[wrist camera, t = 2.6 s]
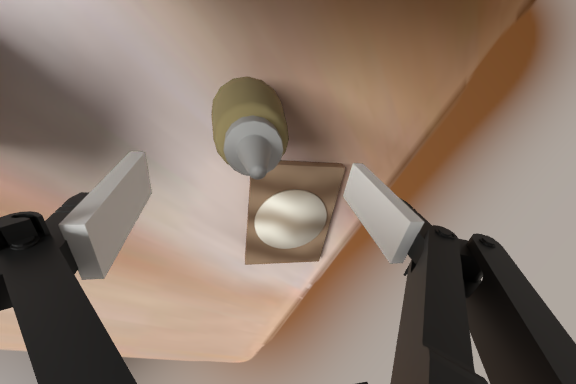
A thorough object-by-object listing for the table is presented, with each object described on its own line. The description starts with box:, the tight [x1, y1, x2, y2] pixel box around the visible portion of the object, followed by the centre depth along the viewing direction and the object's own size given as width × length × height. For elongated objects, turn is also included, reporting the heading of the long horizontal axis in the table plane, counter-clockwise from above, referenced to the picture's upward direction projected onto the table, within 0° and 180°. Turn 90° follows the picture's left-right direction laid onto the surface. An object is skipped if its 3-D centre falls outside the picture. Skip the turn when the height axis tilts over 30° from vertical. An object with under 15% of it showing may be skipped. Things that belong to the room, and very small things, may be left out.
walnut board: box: [245, 160, 345, 265], centre depth 40 cm, size 20×14×2 cm
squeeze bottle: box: [212, 77, 289, 180], centre depth 23 cm, size 8×8×18 cm
